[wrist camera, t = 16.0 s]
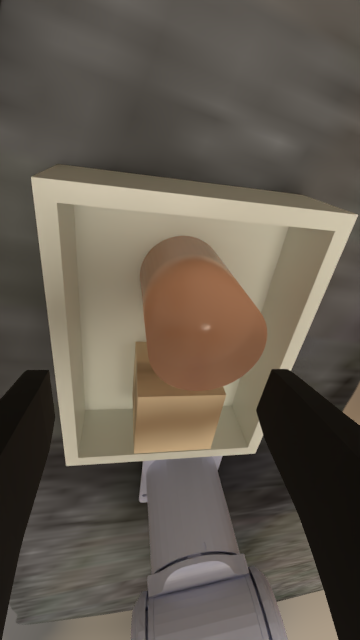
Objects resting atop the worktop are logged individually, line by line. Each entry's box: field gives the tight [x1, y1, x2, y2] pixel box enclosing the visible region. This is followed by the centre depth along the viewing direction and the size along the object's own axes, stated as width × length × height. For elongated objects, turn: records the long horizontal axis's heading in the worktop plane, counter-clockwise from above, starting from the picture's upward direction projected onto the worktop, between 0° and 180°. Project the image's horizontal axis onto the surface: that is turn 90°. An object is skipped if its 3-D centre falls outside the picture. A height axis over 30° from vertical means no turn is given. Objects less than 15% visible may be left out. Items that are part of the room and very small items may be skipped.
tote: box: [31, 164, 358, 466], centre depth 18 cm, size 18×14×5 cm
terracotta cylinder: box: [140, 236, 267, 391], centre depth 15 cm, size 5×5×7 cm
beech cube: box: [132, 342, 226, 454], centre depth 20 cm, size 5×5×5 cm
